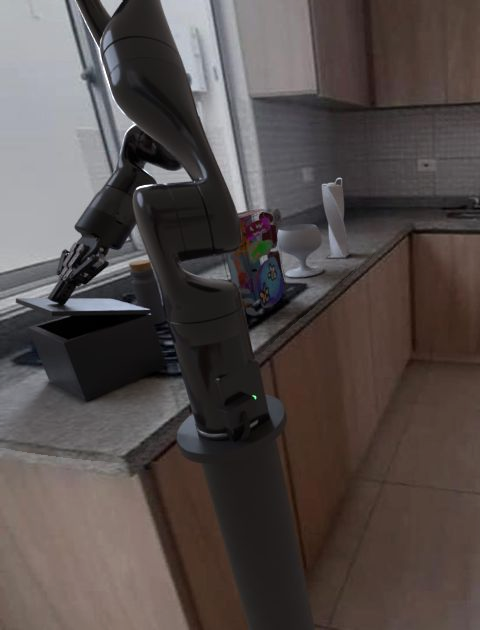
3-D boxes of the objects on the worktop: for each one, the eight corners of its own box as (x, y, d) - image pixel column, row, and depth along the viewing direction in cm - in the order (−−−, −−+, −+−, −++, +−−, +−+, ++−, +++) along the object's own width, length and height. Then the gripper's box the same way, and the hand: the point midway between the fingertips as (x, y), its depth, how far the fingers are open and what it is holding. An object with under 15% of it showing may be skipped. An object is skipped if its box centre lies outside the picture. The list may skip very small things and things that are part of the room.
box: (283, 290, 128) (268, 204, 119) (303, 290, 127) (289, 204, 118) (235, 323, 105) (213, 220, 96) (259, 323, 104) (238, 219, 95)
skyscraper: (354, 253, 167) (346, 176, 157) (348, 259, 159) (339, 178, 149) (332, 254, 168) (323, 177, 158) (325, 259, 161) (315, 179, 150)
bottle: (162, 315, 113) (145, 258, 108) (175, 318, 110) (159, 260, 105) (138, 323, 109) (120, 264, 103) (152, 326, 106) (134, 266, 100)
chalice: (275, 279, 139) (266, 232, 134) (292, 267, 152) (285, 223, 146) (317, 279, 137) (311, 231, 132) (331, 267, 150) (326, 222, 145)
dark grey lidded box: (86, 402, 74) (63, 343, 70) (49, 381, 82) (27, 327, 78) (167, 366, 85) (151, 314, 81) (127, 351, 93) (112, 302, 89)
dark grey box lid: (51, 316, 69) (52, 311, 68) (15, 302, 76) (15, 298, 76) (150, 313, 81) (151, 309, 81) (111, 302, 89) (111, 298, 89)
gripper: (73, 204, 80) (15, 287, 75) (108, 206, 73) (47, 297, 68) (113, 227, 86) (62, 306, 81) (149, 232, 80) (95, 317, 75)
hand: (55, 302), depth 75 cm, fingers closed
